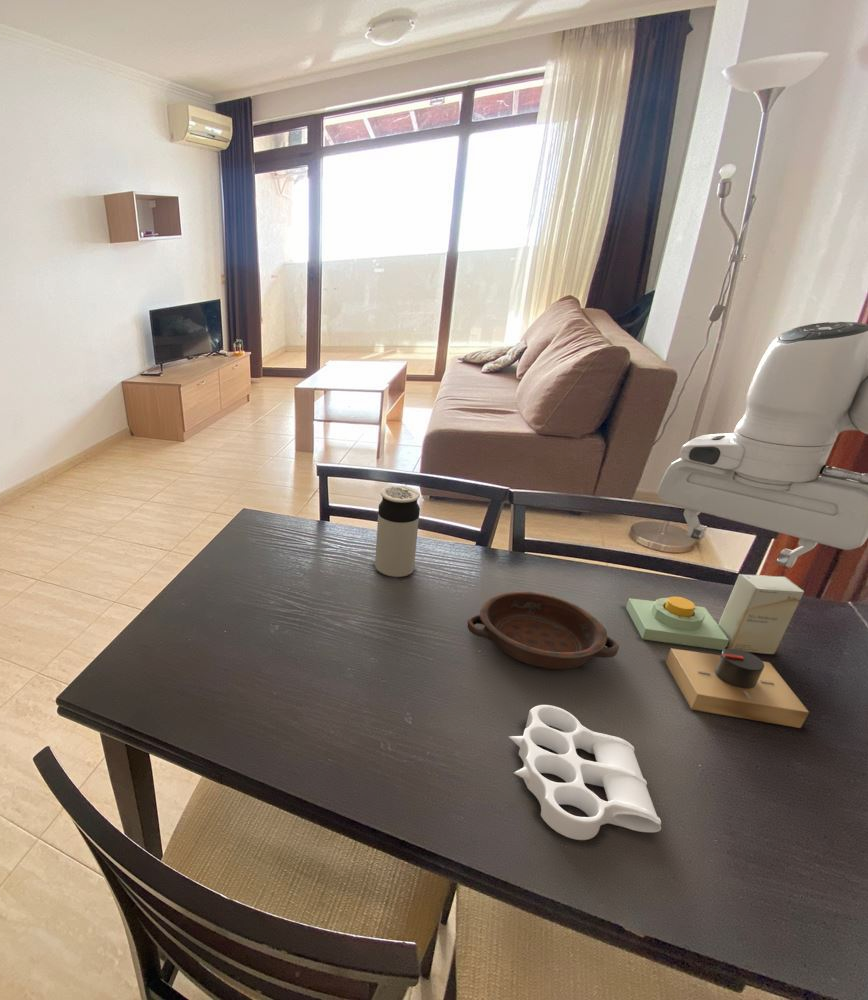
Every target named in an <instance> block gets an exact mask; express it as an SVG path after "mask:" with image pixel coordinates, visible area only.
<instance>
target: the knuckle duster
mask: <svg viewBox="0 0 868 1000" xmlns="http://www.w3.org/2000/svg"><path fill="white" fill-rule="evenodd" d="M525 724H526V725H525V728H524V730H523V734H522V735H511V736H508V738H509V739H510V740H511V741H512V742H513V743H514V744H515V745H517V747H519V751H518V756H519V757H520V760H521V761H522V763H523V767H522V768H519V769H517V770H516V771H514V772H513V774H514V775H516V776H517V777H519V778H521V779H523V781H524V783H525V785H526V788H527V790H528V791H530V792H531V793H532V794H533V795H534V796H535V798H536V799H537V800H538V803H539V805H540V817H541V819H542V820H543V821H544V822H545V823H546V825H547V826H548V827H550V829H552V830H554V831H555V832H556V833H558V834H559V835H561V836H563V837H566V838H569V839H571V840H577V841H587V840H591V839H593V838H594V837H596V836H597V835H598V834H599V832H600V828H601V826H603V825H606V824H609V825H613V826H618V827H621V828H625V829H629V830H631V831H635V832H641V833H657V832H658V833H659V832H660V831H662V826H661V825H662V821H661V818H660V817H659V816H658V815H657V812H656V809H655V806H654V803H653V800H652V798H651V796H650V792H649V790H648V787H647V785H648V782H647V780H646V779H645V778H644V776H643V774H642V771H641V768H640V765H639V762H638V760H637V756H636V754H635V747H634V745H632V744H631V743H630V742H629V741H627V740H625V738H622V737H618V736H614V735H610V734H606V733H601V732H597V731H593V730H591V729H589V728H587V727H585V726H584V725H582V723H581V722H580V721H579V720H578V718H577V717H576V716H574V715H573V714H572V713H571V712H569V711H567V710H566V709H564V708H561V707H558V706H556V705H550V704H538V705H536V706H534V707H532V708H531V709H530V710H529V711H528V716H527V719H526V723H525ZM550 726H551V727H550ZM540 746H542V747H544V748H547V749H549V750H552V751H553V752H550V751H549V750H546V749H543V748H542V747H540ZM578 749H579V750H580V749H581V750H582V751H585V752H586V753H588V754H592V755H594V757H595V760H596V761H593V760H588V759H584V758H583V757H581V756H579V755H578V753H577V750H578ZM554 752H555V753H554ZM542 774H548V775H549V774H550V775H553V776H557V777H558V778H560V779H562V780H563V781H565V782H556V781H553V780H550V779H548V778H547V777H545V776H543V775H542ZM585 784H588V785H592V786H597V787H600V788H601V787H602V788H603V789H604V792H605V794H606V799H607V801H606V800H604V799H601V798H600V797H599V796H598V795H597V794H596V793H595V792H594V791H593V790H590V789H589V788H588V787H587V786H586V785H585ZM560 805H564V806H565V805H568V806H572V807H575V808H577V809H579V810H581V811H582V812H584V814H585V815H587V816H577V815H574V814H571V813H570V812H567V811H566V810H565V809H564V808H562V807H561V806H560Z"/></svg>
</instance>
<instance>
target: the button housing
mask: <svg viewBox="0 0 868 1000" xmlns="http://www.w3.org/2000/svg"><path fill="white" fill-rule="evenodd" d="M668 598H669V597H662V598H657V599H656V600H647V599H639V598H638V599H637V598H628V600H627V603H626V607H625V609H626V612H627V613H628V615H629V616H630V618H631V621H632V622H633V623H634V626H635V628H636V630H637V632H638V633H639V636H640V637H641V639H642V640H645V641H654V642H660V643H667V644H674V645H675V644H676V645H683V646H689V647H697V648H704V649H711V650H718V651H724V650H726V649H727V647H726V646H727V644H728V641H729V639H728V638H727V637H726V635H725V634H724V633H723V631H722V630H721V629H720V627H719V626H718V623H717V622H716V620H715V619H714V617H713V616H712V615H711V614H710V613H709V611H708V610H707V608H706V607H705V606H698V605H695V609H694V612H693V614H692V616H691V617H683V616H678V615H675V614H672V613H670V612H669V611H667V610H666V609H665V605H666V602H667V600H668Z"/></svg>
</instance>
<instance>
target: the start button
mask: <svg viewBox="0 0 868 1000" xmlns="http://www.w3.org/2000/svg"><path fill="white" fill-rule="evenodd" d="M667 598H668V600H667V602H666V605H665V609H666V610H667V611H669V612H670V613H672V614H675V615H678V616H683V617H691V616H692V614H693V612H694V609H695V606H696V605H695V603H694V602H693V601H691V600H689V599H688V598H685V597H680V596H670V597H667Z"/></svg>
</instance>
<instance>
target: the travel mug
mask: <svg viewBox="0 0 868 1000" xmlns="http://www.w3.org/2000/svg"><path fill="white" fill-rule="evenodd" d="M380 496H381V499H382V500H381V501H380V503H379V504H378V510H377V526H376V527H377V528H376V543H375V556H374V557H375V559H374V567H375V569H376V570H377V571H378V572H379V573H380V574H383V575H386V576H389V577H396V578H398V577H406V576H409V575H410V574H412V573H413V572H414V570H415V562H416V551H417V541H418V530H419V522H420V510H421V508H420V505H419V504H418V501H419V499H420V496H421V494H420V492H419V490H417V489H415V488H414V487H411V486H406V485H391V486H390V485H389V486H387V487H383V488H382V490H381V491H380Z"/></svg>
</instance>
